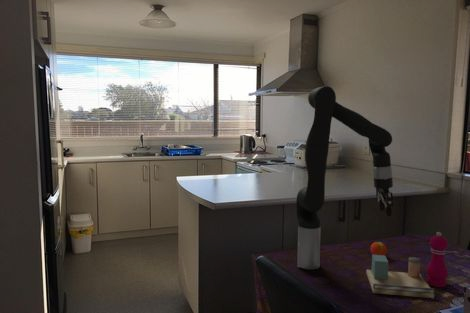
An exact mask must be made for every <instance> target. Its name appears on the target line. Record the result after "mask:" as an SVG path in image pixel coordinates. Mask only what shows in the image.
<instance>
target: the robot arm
mask: <svg viewBox="0 0 470 313" xmlns="http://www.w3.org/2000/svg"><path fill="white" fill-rule="evenodd" d="M307 100H308V103H309V105H310V107H312V108H313V109H314V114H313V116H314V117H313V121H312V125H311V127H310V130H309V133H308V135H307V138H306V141H305V142H306V143H305V150H304V162H305V166H306V170H307V184H306V187H302V188H301V189H299V191H298V192H297V195H296V204H295V206H296V208H295V209H296V218H297V225H298V226H297V228H298V229H297V258H296V259H297V260H296V261H297V263H296V264H297V265H296V267H297V268H301V269H304V270H317V269H319V268H320V265H321V264H320V263H321V261H320V256H321V219H320V217H319V215H318V212H320V211H321V209H322V208H323V207H324V203H325V196H326V195H325V191H326V190H325V187H326V185H325V184H326V183H325V182H326V173H327V162H328V157H329V156H328V155H329V148H330V147H329V146H330V137H331V136H330V135H331V129H332V128H331V127H332V120H333V118H334V119H336V120H337V121H338V122H340V123H342V124H343V125H345V126H346V127H347V128H349V129H350V130H352V131H353V132H355V133H356V134H357V135H359V136H361V137H364V138H367V139H368V146H369V149H370V150H369V151H370V153H371V155H372V164H373V169H372V173H373V176H372V177H373V186H374V188H375V194H376V195H375V196H376V200H377V202H378V211H380V212H381V211H382V212H383V211H385V216H386V217H391V216H392V214H393V213H392V207H394V198H393V196H394V195H393V192H392V191H391V192H390V190H389V189H391V188H393V186H394V183H393V170H392V165H391V164H392V163H391V155H390V153H389V152H387V151H386V148H387V147H389V146H390V145H391V144H392V142H393V137H392V134H391V133H390V132H389V131H388V130H387V129H386V128H384V127H381V126H380V125H377V124H376V123H373V122H372V121H370V120H369V119H367V118H366V117H365V116H363V115H362V114H360V113H358V112H356V111H354V110H352V109H350V108H347V107H346V106H344V105H342V104H340V103H339V102H337V101H336V100H337V95H336V92H335V90H334V89H333V88H332V87H331V86H328V85H322V86H320V87H316V88H313V89H312V90H311V91H309V93H308V96H307Z"/></svg>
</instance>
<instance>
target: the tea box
mask: <svg viewBox="0 0 470 313" xmlns="http://www.w3.org/2000/svg"><path fill="white" fill-rule="evenodd" d="M370 270H371V272H372V274H373V277H374V279H380V280H388V271H389V260H388V259H387V256H386V254H385V255H373V254H371V269H370Z"/></svg>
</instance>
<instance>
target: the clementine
mask: <svg viewBox="0 0 470 313" xmlns="http://www.w3.org/2000/svg"><path fill="white" fill-rule="evenodd" d="M387 251H388V250H387V246H386V245H385V244H384V243H383V242H381V241H375V242H373V243H372V244H371V246H370V252H371V255H385V256H386V254H387Z"/></svg>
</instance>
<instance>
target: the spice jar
mask: <svg viewBox="0 0 470 313" xmlns="http://www.w3.org/2000/svg"><path fill="white" fill-rule="evenodd" d="M407 259H408V260H407V261H408V269H407V273H408V276H409V277H412V278H419V277H420V274H421V273H420V271H421V259H420V258H419V257H416V256H409V257H408V258H407Z"/></svg>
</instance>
